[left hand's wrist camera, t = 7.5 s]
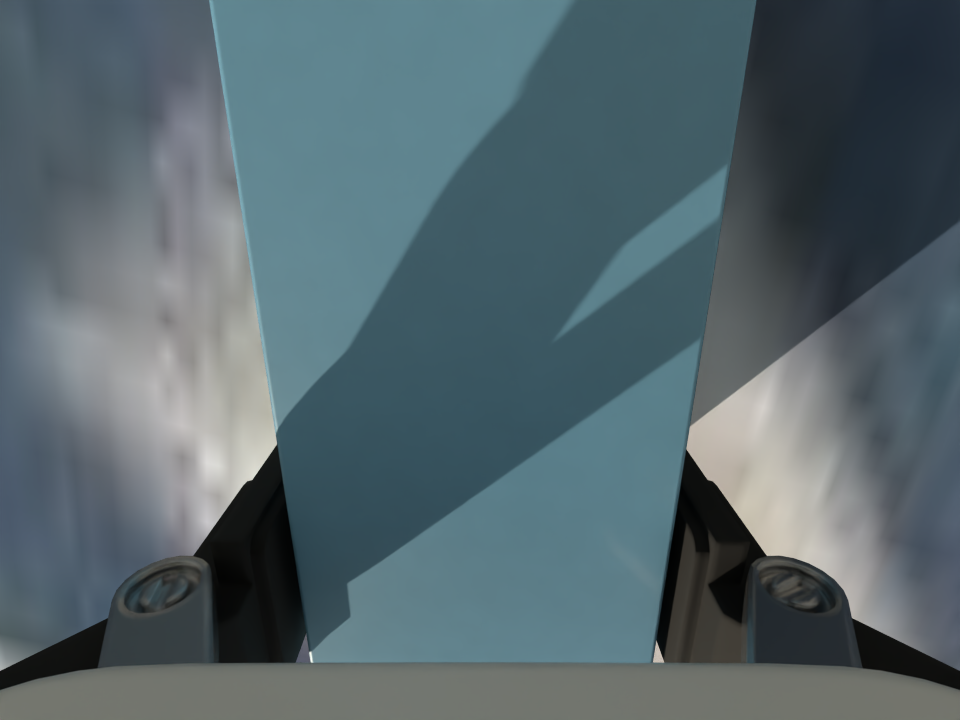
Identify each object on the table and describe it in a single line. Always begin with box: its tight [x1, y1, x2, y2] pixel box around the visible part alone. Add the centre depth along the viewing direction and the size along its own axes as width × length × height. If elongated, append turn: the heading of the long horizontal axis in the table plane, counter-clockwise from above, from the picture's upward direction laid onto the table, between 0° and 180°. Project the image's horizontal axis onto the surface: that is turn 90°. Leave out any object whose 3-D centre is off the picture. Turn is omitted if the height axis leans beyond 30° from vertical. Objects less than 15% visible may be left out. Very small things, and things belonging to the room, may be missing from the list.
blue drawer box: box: [209, 0, 756, 663], centre depth 11 cm, size 16×6×8 cm, turn 0°
